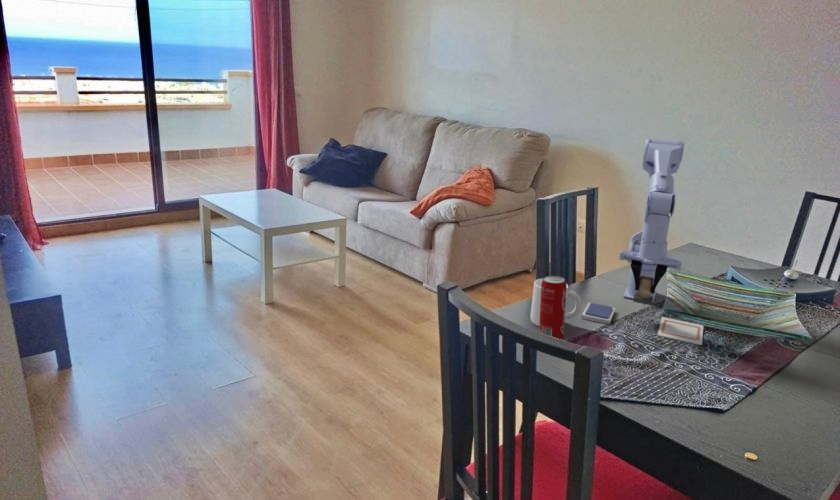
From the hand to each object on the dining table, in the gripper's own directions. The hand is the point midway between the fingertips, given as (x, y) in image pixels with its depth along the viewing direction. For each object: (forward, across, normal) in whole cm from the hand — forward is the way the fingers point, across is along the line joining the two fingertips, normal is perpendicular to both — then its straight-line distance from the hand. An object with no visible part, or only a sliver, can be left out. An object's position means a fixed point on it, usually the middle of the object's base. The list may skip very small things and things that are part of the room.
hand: (644, 290), depth 154 cm
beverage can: (+8, -18, -23) cm, 30 cm away
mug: (+8, -19, -14) cm, 25 cm away
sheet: (+8, +10, -2) cm, 13 cm away
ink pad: (+8, -10, -3) cm, 13 cm away
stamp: (+3, 0, 0) cm, 3 cm away
